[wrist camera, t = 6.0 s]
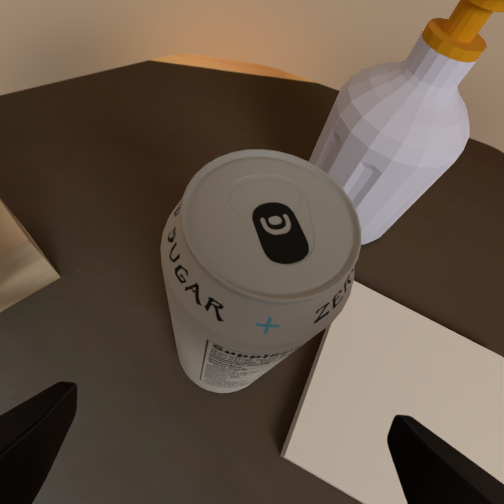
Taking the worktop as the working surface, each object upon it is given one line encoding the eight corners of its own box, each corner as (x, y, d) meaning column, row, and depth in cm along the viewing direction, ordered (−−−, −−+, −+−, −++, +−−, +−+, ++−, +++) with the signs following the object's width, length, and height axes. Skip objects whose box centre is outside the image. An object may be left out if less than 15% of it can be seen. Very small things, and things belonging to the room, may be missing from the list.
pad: (487, 575, 17) (503, 583, 16) (280, 455, 18) (284, 456, 17) (494, 361, 24) (505, 358, 23) (342, 282, 25) (347, 277, 24)
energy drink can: (251, 295, 23) (327, 128, 10) (278, 377, 20) (426, 293, 8) (170, 315, 21) (137, 143, 8) (188, 408, 19) (182, 364, 6)
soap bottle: (319, 257, 26) (886, -494, 5) (280, 176, 30) (499, -436, 9) (403, 237, 28) (1000, -298, 7) (357, 165, 32) (667, -321, 11)
